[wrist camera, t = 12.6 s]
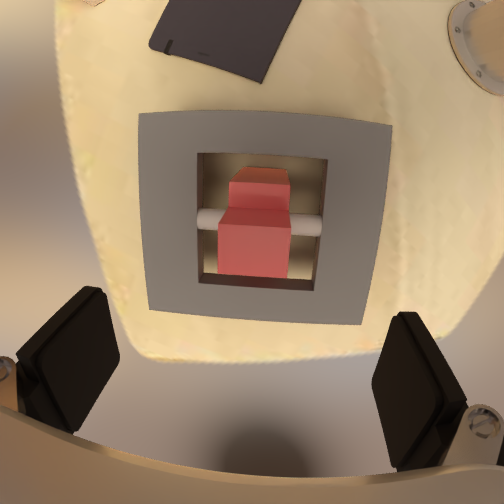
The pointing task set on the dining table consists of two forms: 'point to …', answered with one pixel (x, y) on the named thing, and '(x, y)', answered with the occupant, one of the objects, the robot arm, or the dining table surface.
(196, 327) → the dining table surface
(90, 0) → the jar
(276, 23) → the notebook
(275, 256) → the red stepped block
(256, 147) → the grey frame with crossbar
